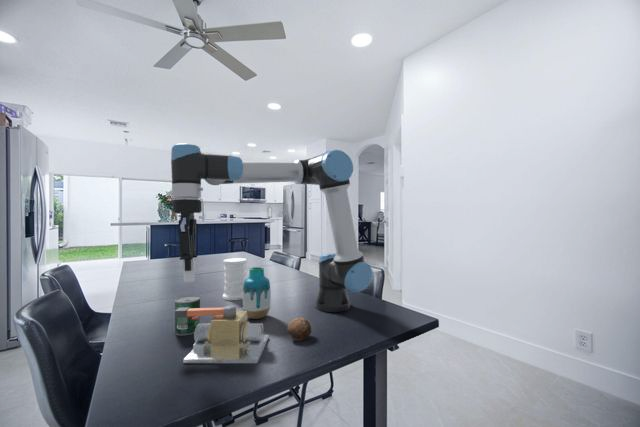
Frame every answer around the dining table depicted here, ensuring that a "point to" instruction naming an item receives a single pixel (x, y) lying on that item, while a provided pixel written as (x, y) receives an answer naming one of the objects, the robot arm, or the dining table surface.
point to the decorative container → (234, 278)
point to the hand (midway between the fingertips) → (189, 281)
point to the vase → (256, 294)
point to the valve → (228, 341)
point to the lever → (206, 312)
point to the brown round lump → (299, 329)
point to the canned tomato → (190, 322)
